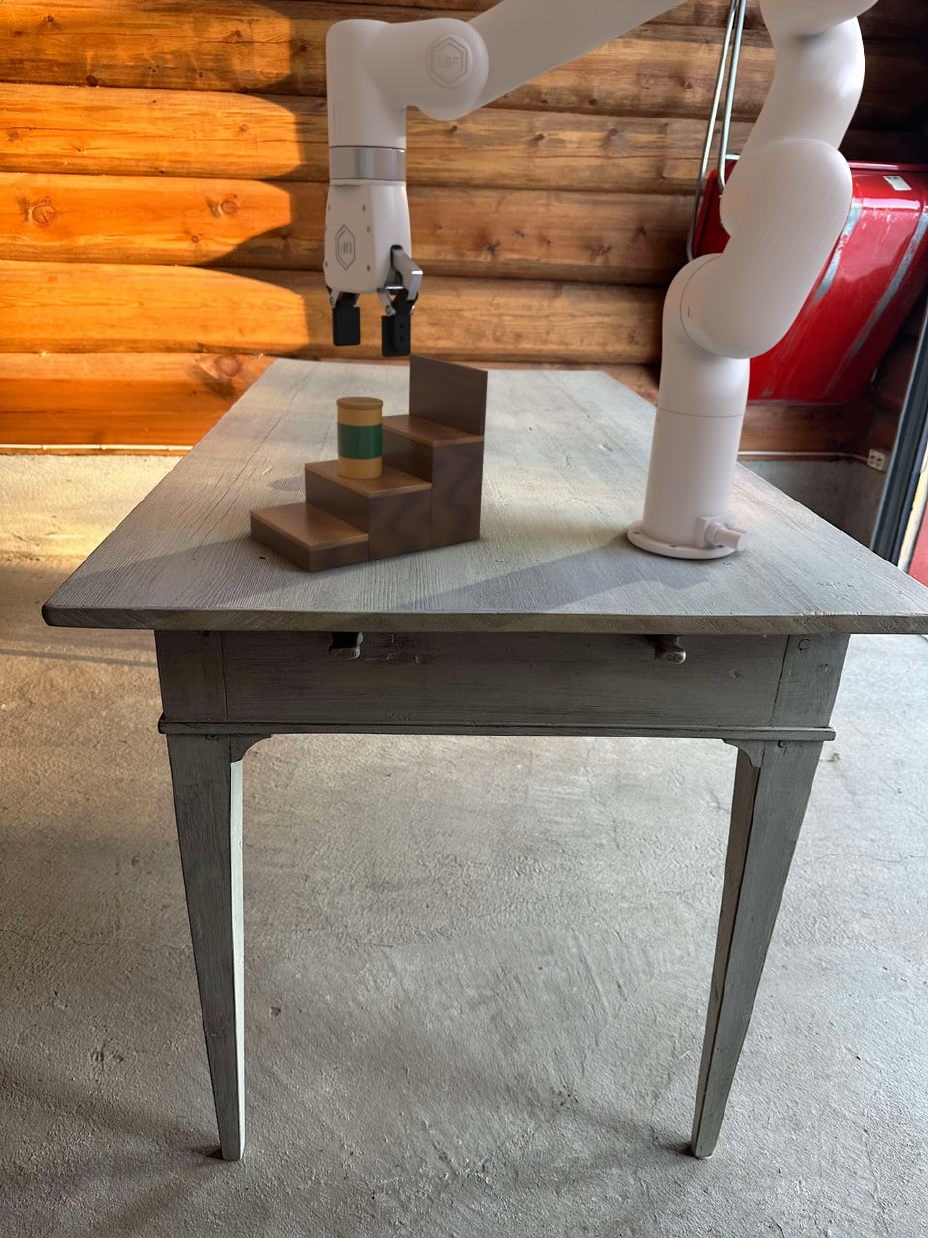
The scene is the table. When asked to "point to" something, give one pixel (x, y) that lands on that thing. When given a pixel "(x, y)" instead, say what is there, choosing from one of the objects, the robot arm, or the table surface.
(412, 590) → the table surface
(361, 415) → the tin
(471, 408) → the step shelf
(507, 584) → the table surface
